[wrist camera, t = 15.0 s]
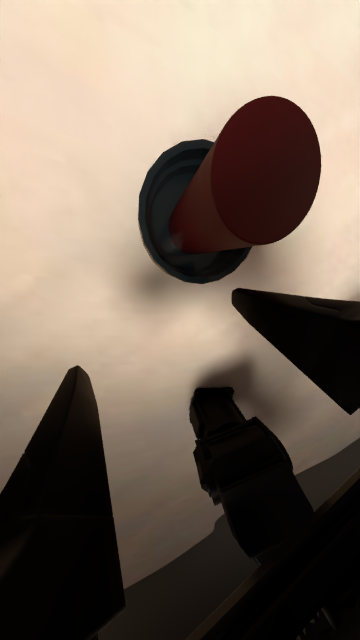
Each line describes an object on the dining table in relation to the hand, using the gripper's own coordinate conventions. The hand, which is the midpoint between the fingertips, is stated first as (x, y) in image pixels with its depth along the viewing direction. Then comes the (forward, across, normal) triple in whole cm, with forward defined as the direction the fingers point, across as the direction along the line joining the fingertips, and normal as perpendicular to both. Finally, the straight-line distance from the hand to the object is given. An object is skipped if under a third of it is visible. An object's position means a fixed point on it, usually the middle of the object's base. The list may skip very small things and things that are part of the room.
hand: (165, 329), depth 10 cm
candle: (+12, -9, -1) cm, 15 cm away
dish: (+12, -9, -1) cm, 15 cm away
